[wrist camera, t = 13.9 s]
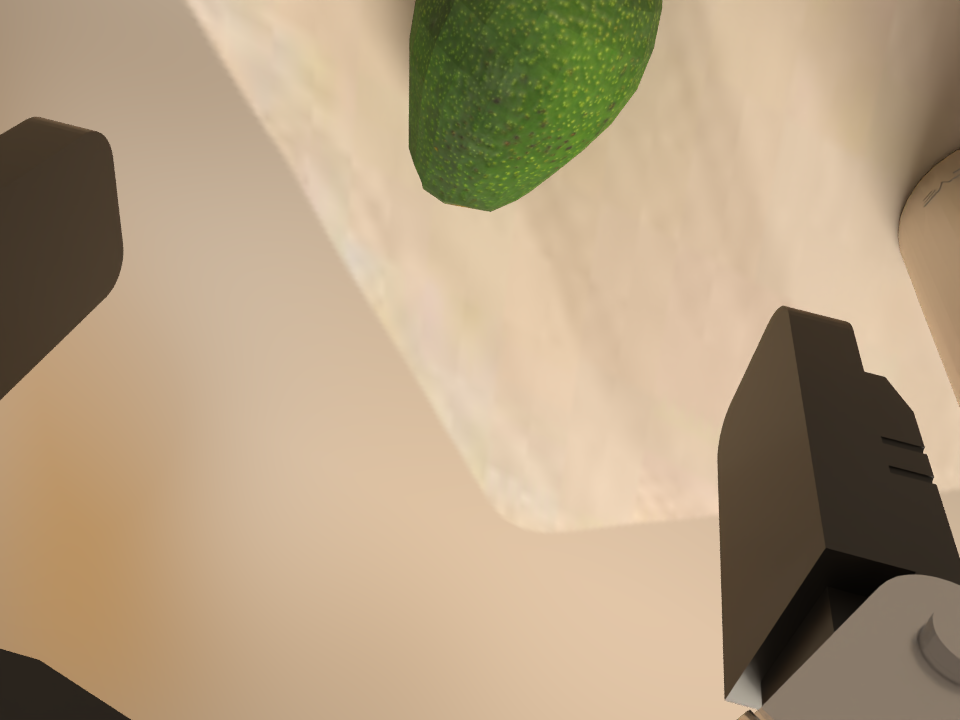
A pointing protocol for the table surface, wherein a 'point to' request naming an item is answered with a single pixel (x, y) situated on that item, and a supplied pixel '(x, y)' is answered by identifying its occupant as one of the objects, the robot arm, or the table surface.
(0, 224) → the robot arm
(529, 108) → the fruit
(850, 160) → the table surface
